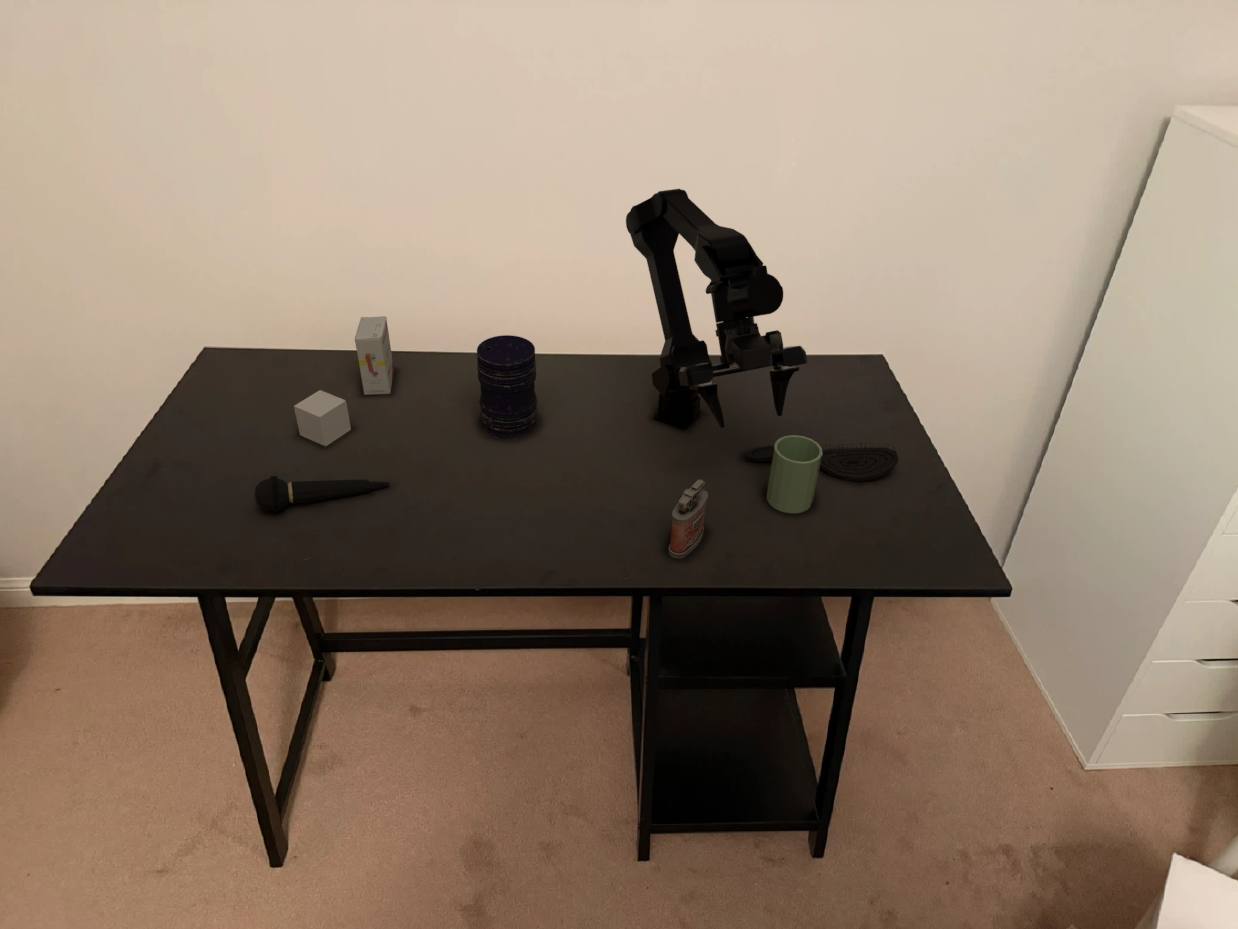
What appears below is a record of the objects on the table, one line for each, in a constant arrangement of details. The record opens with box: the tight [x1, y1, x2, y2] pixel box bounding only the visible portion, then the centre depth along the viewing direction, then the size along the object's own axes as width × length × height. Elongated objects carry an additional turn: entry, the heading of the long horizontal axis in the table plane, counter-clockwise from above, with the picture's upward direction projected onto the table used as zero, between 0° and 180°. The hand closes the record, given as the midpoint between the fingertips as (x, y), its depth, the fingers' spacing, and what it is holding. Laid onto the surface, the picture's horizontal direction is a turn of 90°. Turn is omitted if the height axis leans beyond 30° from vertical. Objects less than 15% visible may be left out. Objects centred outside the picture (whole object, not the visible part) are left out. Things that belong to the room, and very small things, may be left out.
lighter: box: [668, 479, 709, 559], centre depth 137 cm, size 8×3×10 cm, turn 148°
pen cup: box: [765, 434, 823, 515], centre depth 146 cm, size 7×7×10 cm
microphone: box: [254, 475, 390, 513], centre depth 144 cm, size 6×6×20 cm
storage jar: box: [476, 334, 538, 440], centre depth 159 cm, size 10×10×15 cm
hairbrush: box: [745, 442, 900, 482], centre depth 156 cm, size 8×4×25 cm
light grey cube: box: [293, 389, 352, 447], centre depth 158 cm, size 6×6×6 cm
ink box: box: [354, 315, 395, 396], centre depth 169 cm, size 9×5×12 cm, turn 5°
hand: (751, 421), depth 141 cm, fingers open, 9 cm apart
